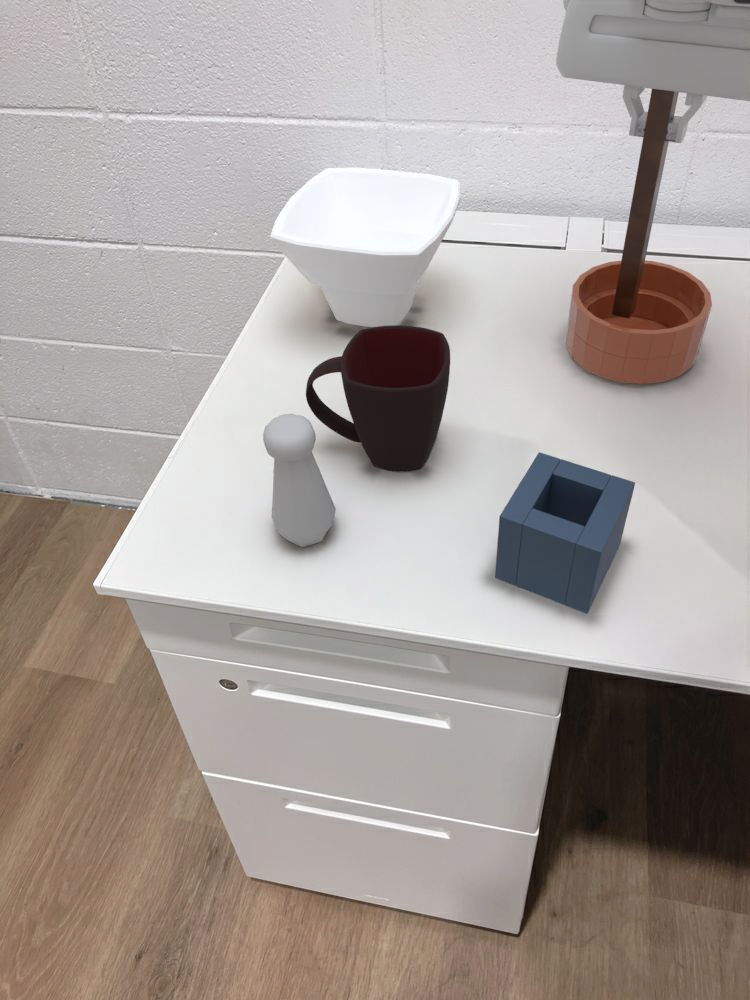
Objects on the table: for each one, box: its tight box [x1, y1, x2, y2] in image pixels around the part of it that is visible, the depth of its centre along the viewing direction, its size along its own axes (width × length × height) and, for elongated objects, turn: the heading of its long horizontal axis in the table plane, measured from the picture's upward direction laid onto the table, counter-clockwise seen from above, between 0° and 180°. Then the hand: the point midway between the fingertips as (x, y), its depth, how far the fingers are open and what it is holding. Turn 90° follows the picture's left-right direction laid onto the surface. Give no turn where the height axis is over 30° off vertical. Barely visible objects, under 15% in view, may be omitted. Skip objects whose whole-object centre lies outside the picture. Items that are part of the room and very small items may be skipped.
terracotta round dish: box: [565, 260, 713, 385], centre depth 89 cm, size 14×14×7 cm
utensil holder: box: [494, 451, 636, 614], centre depth 68 cm, size 8×8×8 cm
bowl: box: [269, 166, 461, 328], centre depth 94 cm, size 19×19×14 cm
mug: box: [305, 324, 451, 473], centre depth 77 cm, size 10×14×12 cm
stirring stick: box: [612, 89, 680, 318], centre depth 80 cm, size 2×2×24 cm
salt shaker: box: [262, 413, 336, 548], centre depth 70 cm, size 6×6×13 cm
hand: (656, 137), depth 75 cm, fingers closed on stirring stick, 2 cm apart
